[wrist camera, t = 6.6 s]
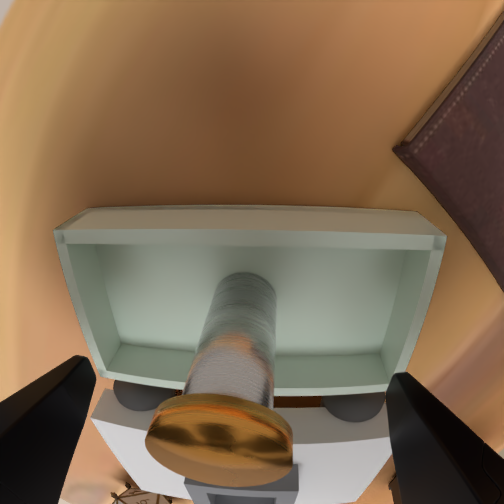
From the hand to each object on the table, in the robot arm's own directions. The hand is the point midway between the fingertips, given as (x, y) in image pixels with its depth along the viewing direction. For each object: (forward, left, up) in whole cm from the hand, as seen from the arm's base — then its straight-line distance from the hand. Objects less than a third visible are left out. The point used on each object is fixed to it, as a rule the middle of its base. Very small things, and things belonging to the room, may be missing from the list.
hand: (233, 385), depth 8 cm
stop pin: (0, 0, -4) cm, 4 cm away
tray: (0, 0, -5) cm, 5 cm away
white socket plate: (0, +9, -5) cm, 11 cm away
